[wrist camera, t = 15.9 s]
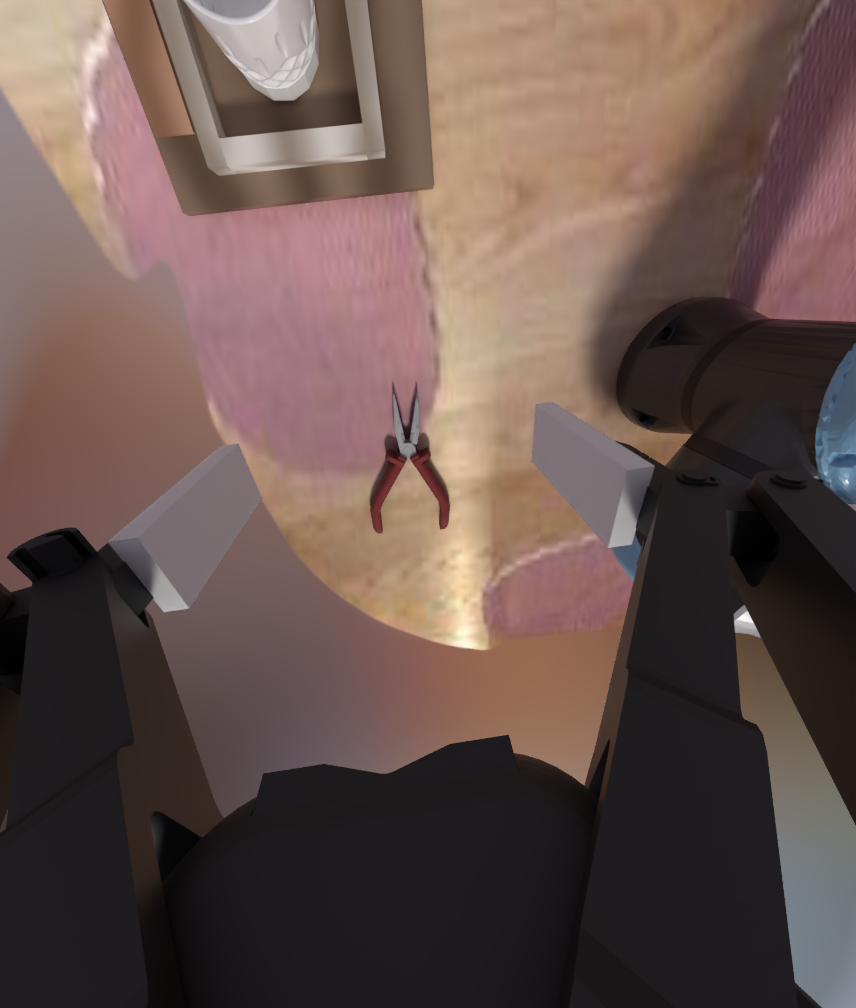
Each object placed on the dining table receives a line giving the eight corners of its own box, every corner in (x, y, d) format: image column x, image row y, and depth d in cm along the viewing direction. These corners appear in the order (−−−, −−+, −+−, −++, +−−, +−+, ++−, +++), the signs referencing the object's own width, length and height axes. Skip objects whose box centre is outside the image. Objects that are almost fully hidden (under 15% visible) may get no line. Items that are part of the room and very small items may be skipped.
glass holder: (405, -203, 20) (407, -280, 18) (432, 188, 30) (436, 177, 27) (44, -175, 20) (-11, -251, 17) (190, 215, 29) (169, 207, 27)
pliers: (451, 388, 40) (455, 393, 38) (447, 522, 51) (450, 532, 49) (357, 391, 39) (355, 396, 37) (373, 526, 50) (372, 537, 48)
